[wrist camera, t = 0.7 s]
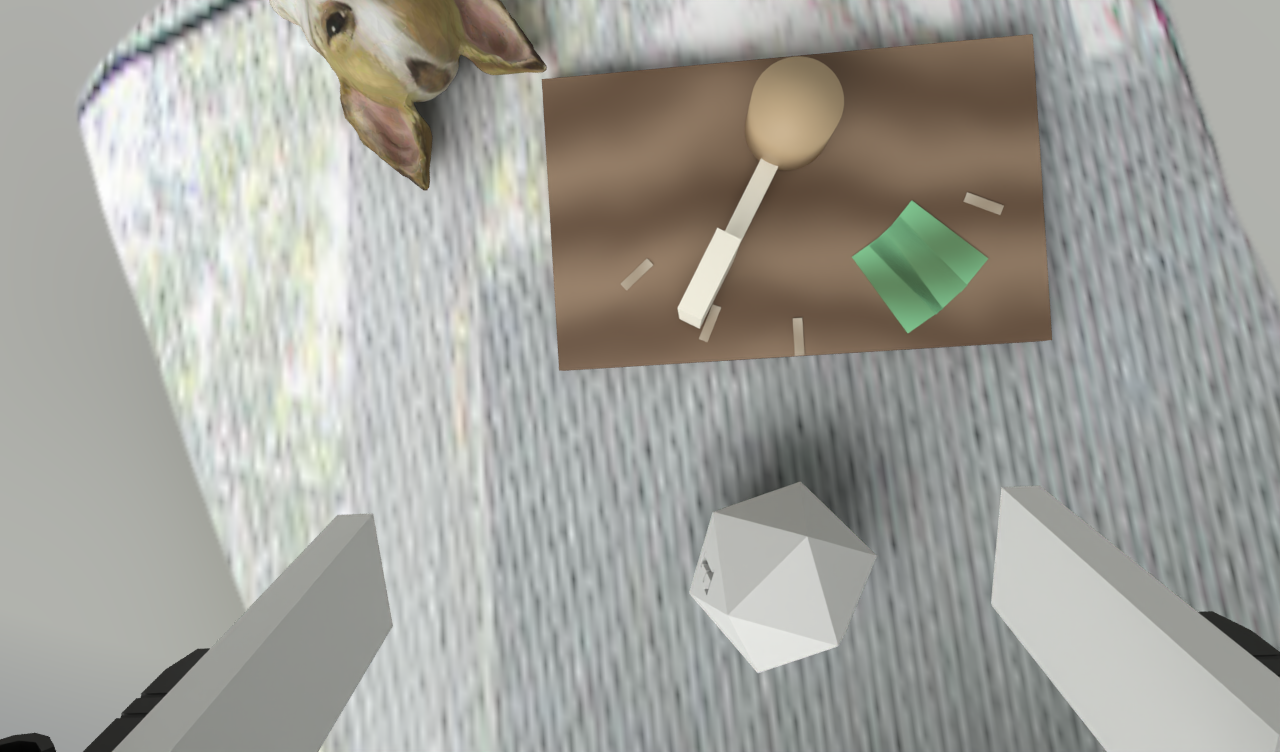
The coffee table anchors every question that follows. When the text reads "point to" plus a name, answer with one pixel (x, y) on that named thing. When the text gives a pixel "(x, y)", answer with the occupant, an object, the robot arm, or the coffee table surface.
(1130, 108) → the coffee table surface
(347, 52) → the ceramic sculpture
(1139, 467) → the coffee table surface
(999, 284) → the dial plate
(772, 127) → the knob lever
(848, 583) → the die
